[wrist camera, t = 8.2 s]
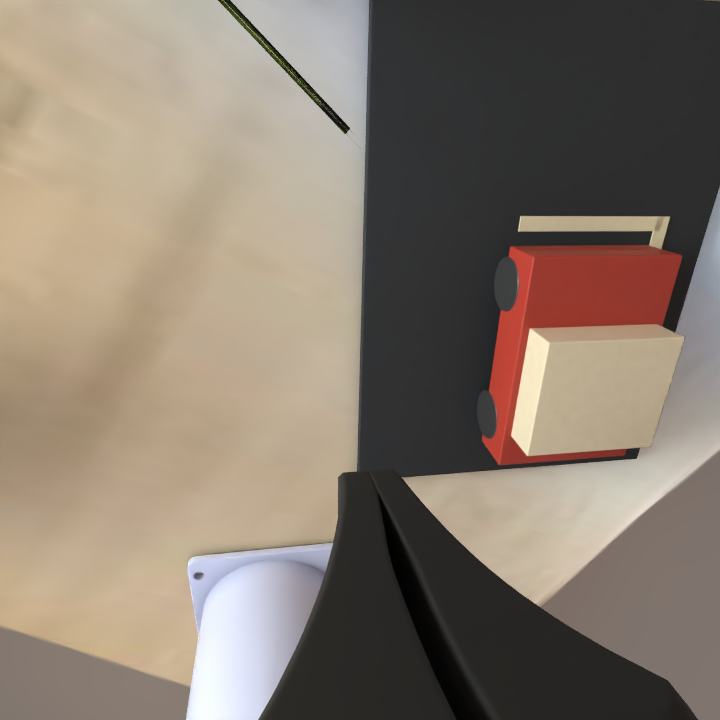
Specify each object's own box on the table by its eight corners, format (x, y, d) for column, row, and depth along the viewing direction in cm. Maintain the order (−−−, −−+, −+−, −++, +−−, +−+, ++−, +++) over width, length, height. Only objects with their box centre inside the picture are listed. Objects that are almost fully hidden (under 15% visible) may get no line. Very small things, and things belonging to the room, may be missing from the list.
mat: (631, 453, 27) (637, 459, 26) (356, 475, 24) (358, 482, 24) (762, 8, 18) (776, 4, 18) (369, -22, 16) (372, -27, 16)
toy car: (473, 430, 24) (589, 422, 25) (512, 488, 20) (649, 476, 21) (499, 241, 20) (634, 240, 21) (553, 266, 16) (717, 264, 17)
